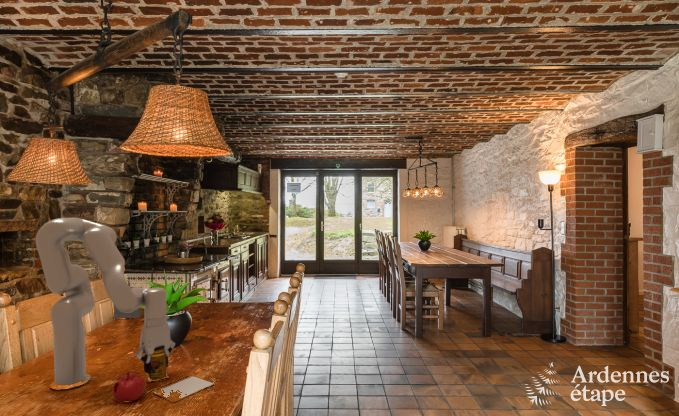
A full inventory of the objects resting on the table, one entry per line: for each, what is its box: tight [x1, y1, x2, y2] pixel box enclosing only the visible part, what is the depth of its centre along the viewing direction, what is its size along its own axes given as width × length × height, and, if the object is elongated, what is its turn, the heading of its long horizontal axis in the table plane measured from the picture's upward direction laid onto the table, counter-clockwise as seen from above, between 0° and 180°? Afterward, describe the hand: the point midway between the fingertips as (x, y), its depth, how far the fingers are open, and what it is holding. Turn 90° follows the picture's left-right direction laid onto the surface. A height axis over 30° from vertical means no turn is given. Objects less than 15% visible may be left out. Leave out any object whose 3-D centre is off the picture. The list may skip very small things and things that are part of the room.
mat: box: [153, 375, 215, 398], centre depth 145 cm, size 12×16×1 cm
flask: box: [113, 282, 142, 320], centre depth 241 cm, size 15×6×20 cm, turn 93°
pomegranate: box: [112, 370, 146, 403], centre depth 139 cm, size 10×10×9 cm
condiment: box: [149, 345, 167, 380], centre depth 156 cm, size 7×8×12 cm
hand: (156, 369), depth 156 cm, fingers closed on condiment, 6 cm apart
